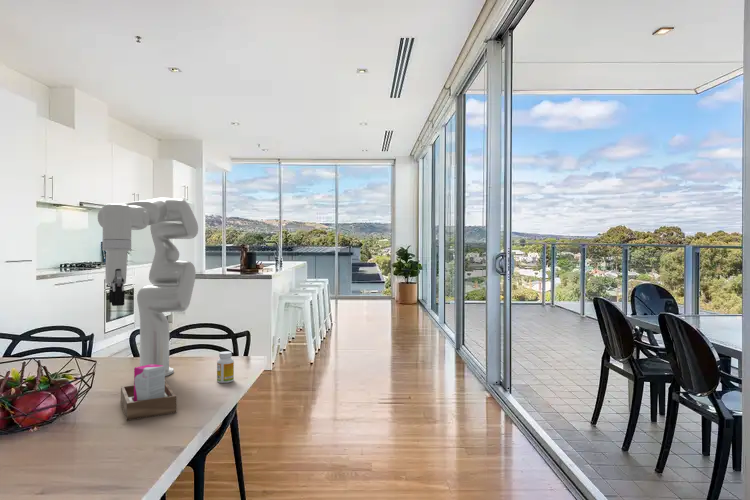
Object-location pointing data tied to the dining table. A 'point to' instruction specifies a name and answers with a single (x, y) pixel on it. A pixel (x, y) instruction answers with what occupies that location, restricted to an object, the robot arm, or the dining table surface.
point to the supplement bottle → (225, 367)
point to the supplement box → (149, 382)
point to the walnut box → (147, 404)
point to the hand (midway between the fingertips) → (116, 303)
